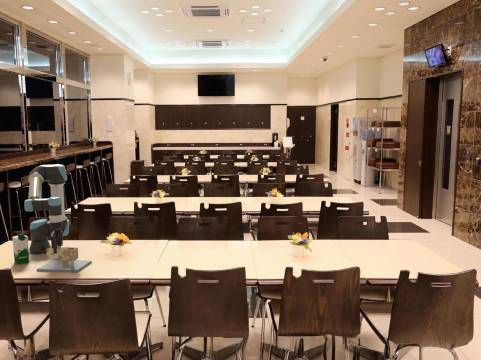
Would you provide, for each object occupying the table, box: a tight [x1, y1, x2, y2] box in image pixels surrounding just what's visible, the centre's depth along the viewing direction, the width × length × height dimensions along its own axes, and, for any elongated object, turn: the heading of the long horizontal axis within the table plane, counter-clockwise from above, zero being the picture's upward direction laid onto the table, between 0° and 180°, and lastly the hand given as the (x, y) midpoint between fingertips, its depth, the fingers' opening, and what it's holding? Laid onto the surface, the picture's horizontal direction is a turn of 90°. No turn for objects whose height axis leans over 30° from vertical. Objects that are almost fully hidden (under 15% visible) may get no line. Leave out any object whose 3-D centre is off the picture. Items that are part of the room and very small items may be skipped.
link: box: [45, 246, 79, 261], centre depth 291 cm, size 18×6×7 cm, turn 88°
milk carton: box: [12, 233, 30, 265], centre depth 308 cm, size 9×9×20 cm
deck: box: [36, 246, 93, 274], centre depth 299 cm, size 21×27×11 cm
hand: (57, 257), depth 292 cm, fingers closed on link, 4 cm apart
